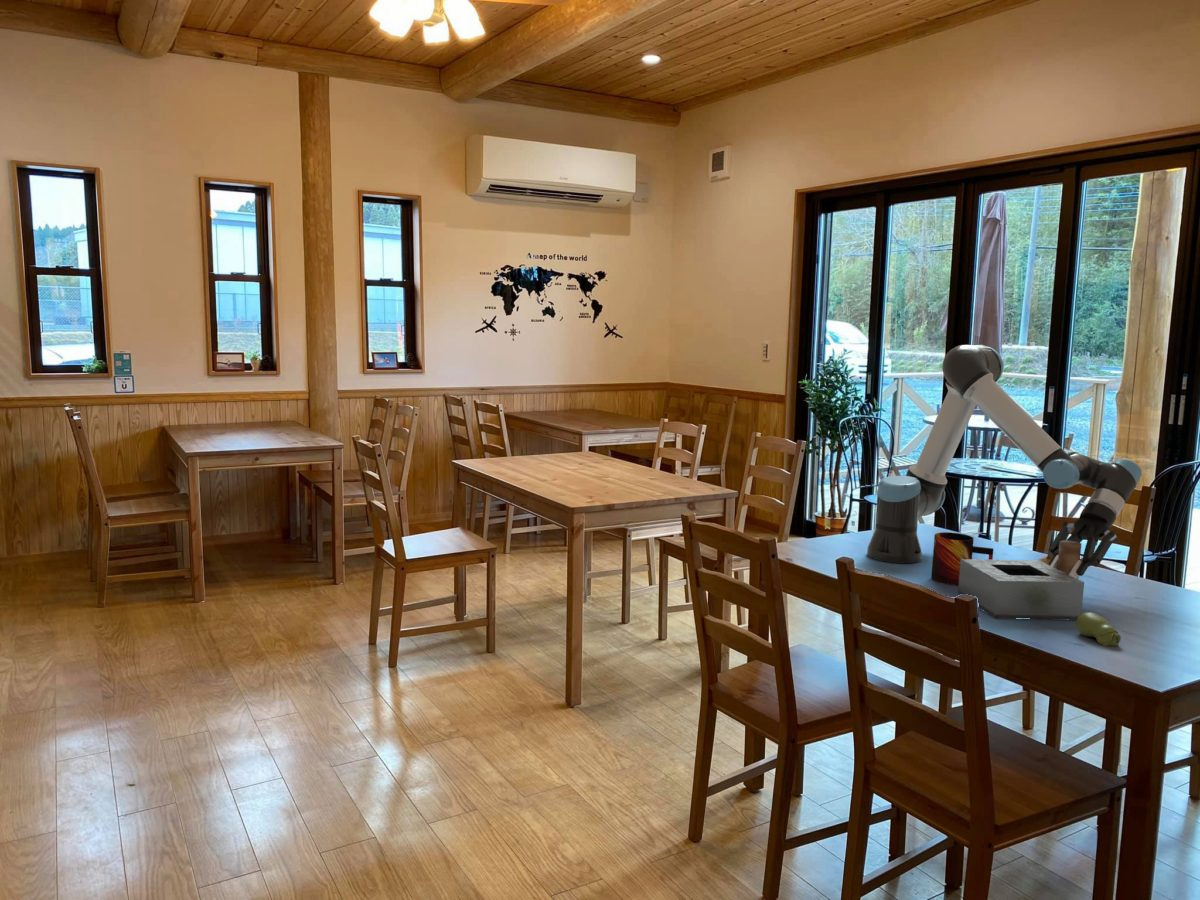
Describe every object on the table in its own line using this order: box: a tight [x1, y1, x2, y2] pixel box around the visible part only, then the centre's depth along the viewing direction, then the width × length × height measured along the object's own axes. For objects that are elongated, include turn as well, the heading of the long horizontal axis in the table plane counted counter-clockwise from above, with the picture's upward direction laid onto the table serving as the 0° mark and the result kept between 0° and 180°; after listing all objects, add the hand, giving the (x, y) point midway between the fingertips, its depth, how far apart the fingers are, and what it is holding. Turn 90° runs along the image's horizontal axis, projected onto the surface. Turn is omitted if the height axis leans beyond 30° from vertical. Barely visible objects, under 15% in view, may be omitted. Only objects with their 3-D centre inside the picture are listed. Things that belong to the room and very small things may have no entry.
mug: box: [930, 532, 994, 586], centre depth 237 cm, size 10×14×12 cm
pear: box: [1075, 611, 1122, 647], centre depth 192 cm, size 6×5×10 cm
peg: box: [1057, 539, 1082, 575], centre depth 224 cm, size 5×5×14 cm
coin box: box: [957, 558, 1085, 621], centre depth 214 cm, size 20×20×9 cm
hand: (1058, 580), depth 222 cm, fingers closed on peg, 5 cm apart
